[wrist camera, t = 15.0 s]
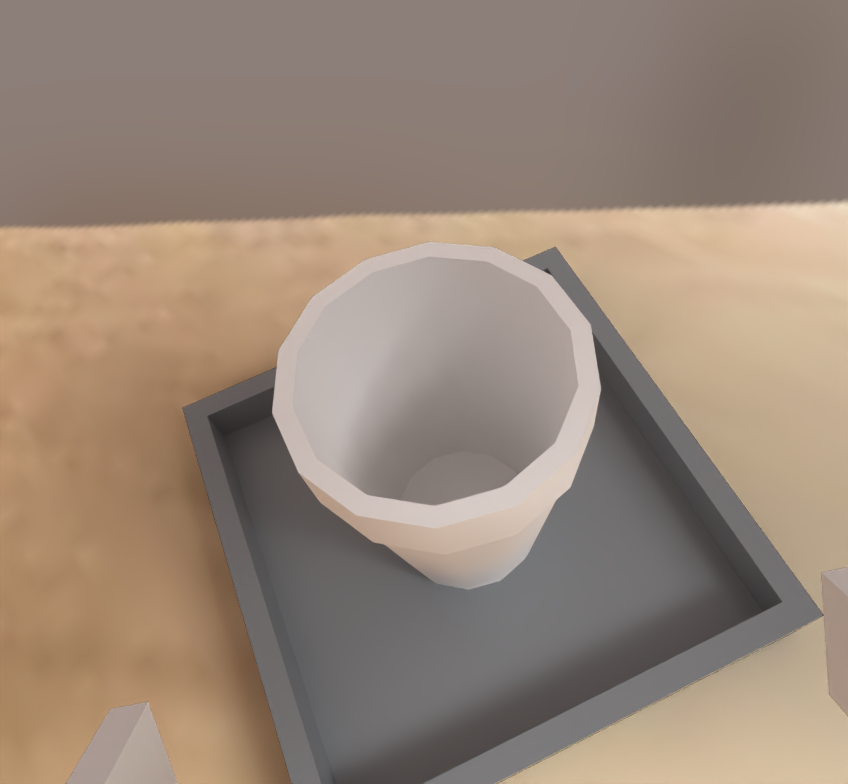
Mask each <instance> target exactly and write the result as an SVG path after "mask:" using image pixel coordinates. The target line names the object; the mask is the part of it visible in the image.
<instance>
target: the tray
mask: <svg viewBox="0 0 848 784" xmlns="http://www.w3.org/2000/svg"><path fill="white" fill-rule="evenodd" d="M523 261H524V262H526V263H528V264H530V265H532V266H534V267H536V268H538V269H540V270H542V271H544V272H546V273H548V274H550V275H552V276H553V278H554V279H555V280H556V281H557V283H558V284H559V285H560V286H561V288H562V289H563V290H564V291H565V293H566V294H567V295H568V297H569V298H570V299H571V300H572V302H573V303H574V304H575V305H576V307H577V308H578V309H579V310H580V312H581V313H582V314H583V315H584V317H585V318H586V319H587V320H588V322H589V323H590V324H591V329H592V335H593V341H594V348H595V354H596V360H597V366H598V372H599V379H600V385H601V391H600V397H599V402H598V407H597V412H596V418H595V423H594V427H593V430H592V433H591V435H590V438H589V440H588V443H587V446H586V448H585V451H584V453H583V456H582V459H581V461H580V464H579V467H578V469H577V472H576V474H575V477H574V480H573V482H572V485H571V487H570V488H569V489H568V490H567V491H566V492H565V493H564V494H563V495H561V496H560V497H559V498H558V499H557V500H556V501H555V503H554V505H553V507H552V509H551V511H550V513H549V515H548V517H547V519H546V520H545V522H544V524H543V526H542V528H541V530H540V532H539V534H538V536H537V538H536V540H535V542H534V543H533V545H532V547H531V549H530V551H529V553H528V555H527V556H526V558H525V559H524V560H523V561H522V562H521V563H520V564H519V565H518V566H517V567H515V568H514V569H513V570H512V571H511V572H510V573H509V574H508V575H506V576H505V577H504V578H503V579H502V580H501V581H498V582H494V583H491V584H487V585H483V586H480V587H476V588H473V589H469V590H468V589H463V588H457V587H452V586H446V585H441V584H436V583H435V582H433V581H432V580H430V579H429V578H428V577H426V576H425V575H424V574H422V573H421V572H420V571H418V570H417V569H415V568H414V567H413V566H411V565H410V564H409V563H407V562H406V561H405V560H404V559H402V558H401V557H400V556H398V555H397V554H396V553H395V552H393V551H392V550H391V549H389V548H388V547H387V546H386V545H384V544H379V543H374V542H372V541H371V540H369V539H368V538H367V537H365V536H364V535H363V534H361V533H360V532H359V531H357V530H356V529H355V528H353V527H352V526H351V525H349V524H348V523H347V522H345V521H344V520H343V519H341V518H340V517H339V516H337V515H336V514H335V513H333V512H332V511H331V510H329V509H328V508H327V507H325V506H324V505H323V504H321V503H320V502H319V500H318V499H317V497H316V496H315V495H314V493H313V492H312V491H311V489H310V488H309V486H308V485H307V484H306V482H305V481H304V480H303V478H302V477H301V475H300V474H299V473H298V471H297V468H296V466H295V464H294V462H293V459H292V457H291V455H290V452H289V450H288V448H287V446H286V443H285V441H284V439H283V437H282V434H281V432H280V430H279V428H278V425H277V423H276V421H275V419H274V416H273V414H272V408H273V398H274V388H275V379H276V369H277V367H276V368H273V369H271V370H269V371H266V372H264V373H262V374H259V375H257V376H255V377H253V378H250V379H248V380H246V381H243V382H241V383H239V384H236V385H234V386H232V387H229V388H227V389H225V390H222V391H220V392H218V393H215V394H213V395H211V396H209V397H206V398H204V399H202V400H199V401H197V402H195V403H192V404H190V405H188V406H185V407H183V412H184V415H185V419H186V422H187V426H188V429H189V432H190V436H191V439H192V443H193V446H194V450H195V453H196V457H197V460H198V463H199V467H200V470H201V474H202V477H203V481H204V484H205V487H206V491H207V494H208V498H209V501H210V505H211V508H212V512H213V515H214V518H215V522H216V525H217V529H218V532H219V536H220V539H221V543H222V546H223V549H224V553H225V556H226V560H227V563H228V567H229V570H230V573H231V577H232V580H233V584H234V587H235V591H236V594H237V598H238V601H239V604H240V608H241V611H242V615H243V618H244V622H245V625H246V628H247V632H248V635H249V639H250V642H251V646H252V649H253V653H254V656H255V659H256V663H257V666H258V670H259V673H260V677H261V680H262V684H263V687H264V690H265V694H266V697H267V701H268V704H269V708H270V711H271V714H272V718H273V721H274V725H275V728H276V732H277V735H278V739H279V742H280V745H281V749H282V752H283V756H284V759H285V763H286V766H287V769H288V773H289V776H290V780H291V783H292V784H498V783H500V782H502V781H504V780H505V779H507V778H509V777H511V776H513V775H515V774H517V773H519V772H521V771H523V770H525V769H527V768H529V767H531V766H533V765H535V764H537V763H539V762H541V761H543V760H545V759H547V758H549V757H551V756H552V755H554V754H556V753H558V752H560V751H562V750H564V749H566V748H568V747H570V746H572V745H574V744H576V743H578V742H580V741H582V740H584V739H586V738H588V737H590V736H592V735H594V734H596V733H597V732H599V731H601V730H603V729H605V728H607V727H609V726H611V725H613V724H615V723H617V722H619V721H621V720H623V719H625V718H627V717H629V716H631V715H633V714H635V713H637V712H639V711H641V710H643V709H644V708H646V707H648V706H650V705H652V704H654V703H656V702H658V701H660V700H662V699H664V698H666V697H668V696H670V695H672V694H674V693H676V692H678V691H680V690H682V689H684V688H686V687H688V686H689V685H691V684H693V683H695V682H697V681H699V680H701V679H703V678H705V677H707V676H709V675H711V674H713V673H715V672H717V671H719V670H721V669H723V668H725V667H727V666H729V665H731V664H733V663H735V662H736V661H738V660H740V659H742V658H744V657H746V656H748V655H750V654H752V653H754V652H756V651H758V650H760V649H762V648H764V647H766V646H768V645H770V644H772V643H774V642H776V641H778V640H780V639H781V638H783V637H785V636H787V635H789V634H791V633H793V632H795V631H797V630H799V629H801V628H802V627H804V626H806V625H808V624H809V623H811V622H813V621H815V620H816V619H818V618H820V617H822V616H824V615H823V614H822V612H821V611H820V609H819V608H818V607H817V605H816V604H815V603H814V601H813V600H812V598H811V597H810V596H809V594H808V593H807V592H806V590H805V589H804V587H803V586H802V585H801V583H800V582H799V581H798V579H797V578H796V576H795V575H794V574H793V572H792V571H791V570H790V568H789V567H788V565H787V564H786V563H785V561H784V560H783V559H782V557H781V556H780V554H779V553H778V552H777V550H776V549H775V548H774V546H773V545H772V543H771V542H770V541H769V539H768V538H767V537H766V535H765V534H764V532H763V531H762V530H761V528H760V527H759V526H758V524H757V523H756V521H755V520H754V519H753V517H752V516H751V515H750V513H749V512H748V510H747V509H746V508H745V506H744V505H743V504H742V502H741V501H740V499H739V498H738V497H737V495H736V494H735V493H734V491H733V490H732V488H731V487H730V486H729V484H728V483H727V482H726V480H725V479H724V477H723V476H722V475H721V473H720V472H719V471H718V469H717V468H716V466H715V465H714V464H713V462H712V461H711V460H710V458H709V457H708V455H707V454H706V453H705V451H704V450H703V449H702V447H701V446H700V445H699V443H698V442H697V440H696V439H695V438H694V436H693V435H692V434H691V432H690V431H689V429H688V428H687V427H686V425H685V424H684V423H683V421H682V420H681V418H680V417H679V416H678V414H677V413H676V412H675V410H674V409H673V407H672V406H671V405H670V403H669V402H668V401H667V399H666V398H665V396H664V395H663V394H662V392H661V391H660V390H659V388H658V387H657V385H656V384H655V383H654V381H653V380H652V379H651V377H650V376H649V374H648V373H647V372H646V370H645V369H644V368H643V366H642V365H641V363H640V362H639V361H638V359H637V358H636V357H635V355H634V354H633V352H632V351H631V350H630V348H629V347H628V346H627V344H626V343H625V341H624V340H623V339H622V337H621V336H620V335H619V333H618V332H617V330H616V329H615V328H614V326H613V325H612V324H611V322H610V321H609V319H608V318H607V317H606V315H605V314H604V313H603V311H602V310H601V308H600V307H599V306H598V304H597V303H596V302H595V300H594V299H593V297H592V296H591V295H590V293H589V292H588V291H587V289H586V288H585V286H584V285H583V284H582V282H581V281H580V280H579V278H578V277H577V275H576V274H575V273H574V271H573V270H572V269H571V267H570V266H569V264H568V263H567V262H566V260H565V259H564V258H563V256H562V255H561V253H560V252H559V251H558V249H557V248H556V247H553V248H551V249H549V250H547V251H544V252H542V253H540V254H537V255H535V256H533V257H530V258H528V259H526V260H523Z"/></svg>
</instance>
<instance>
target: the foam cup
mask: <svg viewBox="0 0 848 784" xmlns="http://www.w3.org/2000/svg"><path fill="white" fill-rule="evenodd" d="M600 391H601V385H600V379H599V372H598V366H597V360H596V354H595V348H594V341H593V335H592V329H591V324H590V323H589V322H588V320H587V319H586V318H585V317H584V315H583V314H582V313H581V312H580V310H579V309H578V308H577V307H576V305H575V304H574V303H573V302H572V300H571V299H570V298H569V297H568V295H567V294H566V293H565V291H564V290H563V289H562V288H561V286H560V285H559V284H558V283H557V281H556V280H555V279H554V278H553V276H552V275H550V274H548V273H546V272H544V271H542V270H540V269H538V268H536V267H534V266H532V265H530V264H528V263H526V262H524V261H522V260H519V259H517V258H515V257H513V256H511V255H509V254H507V253H505V252H503V251H501V250H499V249H497V248H495V247H488V246H475V245H462V244H449V243H437V242H426V243H423V244H419V245H415V246H412V247H408V248H405V249H401V250H397V251H394V252H390V253H386V254H383V255H379V256H375V257H372V258H368V259H365V260H363V261H362V262H361V263H359V264H358V265H356V266H355V267H354V268H352V269H351V270H349V271H348V272H347V273H345V274H344V275H342V276H341V277H340V278H338V279H337V280H335V281H334V282H333V283H331V284H330V285H328V286H327V287H326V288H324V289H323V290H321V291H320V292H318V293H317V294H316V295H314V296H313V297H312V298H311V300H310V301H309V303H308V304H307V306H306V307H305V309H304V311H303V312H302V314H301V315H300V317H299V319H298V320H297V322H296V323H295V325H294V327H293V328H292V330H291V331H290V333H289V335H288V336H287V338H286V339H285V341H284V342H283V344H282V346H281V347H280V349H279V350H278V359H277V369H276V379H275V388H274V398H273V408H272V414H273V416H274V419H275V421H276V423H277V425H278V428H279V430H280V432H281V434H282V437H283V439H284V441H285V443H286V446H287V448H288V450H289V452H290V455H291V457H292V459H293V462H294V464H295V466H296V468H297V471H298V473H299V474H300V475H301V477H302V478H303V480H304V481H305V482H306V484H307V485H308V486H309V488H310V489H311V491H312V492H313V493H314V495H315V496H316V497H317V499H318V500H319V502H320V503H321V504H323V505H324V506H325V507H327V508H328V509H329V510H331V511H332V512H333V513H335V514H336V515H337V516H339V517H340V518H341V519H343V520H344V521H345V522H347V523H348V524H349V525H351V526H352V527H353V528H355V529H356V530H357V531H359V532H360V533H361V534H363V535H364V536H365V537H367V538H368V539H369V540H371V541H372V542H374V543H379V544H384V545H386V546H387V547H388V548H389V549H391V550H392V551H393V552H395V553H396V554H397V555H398V556H400V557H401V558H402V559H404V560H405V561H406V562H407V563H409V564H410V565H411V566H413V567H414V568H415V569H417V570H418V571H420V572H421V573H422V574H424V575H425V576H426V577H428V578H429V579H430V580H432V581H433V582H435V583H436V584H441V585H446V586H452V587H457V588H463V589H468V590H469V589H473V588H476V587H480V586H483V585H487V584H491V583H494V582H498V581H501V580H502V579H503V578H504V577H505V576H506V575H508V574H509V573H510V572H511V571H512V570H513V569H514V568H515V567H517V566H518V565H519V564H520V563H521V562H522V561H523V560H524V559H525V558H526V556H527V555H528V553H529V551H530V549H531V547H532V545H533V543H534V542H535V540H536V538H537V536H538V534H539V532H540V530H541V528H542V526H543V524H544V522H545V520H546V519H547V517H548V515H549V513H550V511H551V509H552V507H553V505H554V503H555V501H556V500H557V499H558V498H559V497H560V496H561V495H563V494H564V493H565V492H566V491H567V490H568V489H569V488H570V487H571V485H572V482H573V480H574V477H575V474H576V472H577V469H578V467H579V464H580V461H581V459H582V456H583V453H584V451H585V448H586V446H587V443H588V440H589V438H590V435H591V433H592V430H593V427H594V423H595V418H596V412H597V407H598V402H599V397H600Z"/></svg>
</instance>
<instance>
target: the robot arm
mask: <svg viewBox="0 0 848 784" xmlns="http://www.w3.org/2000/svg"><path fill="white" fill-rule="evenodd" d="M821 580H822V596H823V611H824V626H825V641H826V657H827V672H828V687H829V695H830V696H831V697H832V699H833V700H834V701H835V702H836V703H837V704H838V706H839V707H840V708H841V709H842V710H843V711H844V713H845V714H846V715H847V716H848V567H846V568H841V569H835V570H830V571H825V572H821ZM66 784H178V782H177V780H176V777H175V774H174V771H173V769H172V766H171V763H170V760H169V758H168V755H167V752H166V749H165V747H164V744H163V741H162V739H161V736H160V733H159V730H158V728H157V725H156V722H155V719H154V717H153V714H152V711H151V708H150V706H149V703H148V702H144V703H139V704H134V705H129V706H124V707H118V708H113V709H110V710H109V712H108V714H107V715H106V717H105V719H104V720H103V722H102V724H101V725H100V727H99V729H98V730H97V732H96V734H95V735H94V737H93V739H92V741H91V742H90V744H89V746H88V747H87V749H86V751H85V752H84V754H83V756H82V757H81V759H80V761H79V762H78V764H77V766H76V767H75V769H74V771H73V772H72V774H71V776H70V778H69V779H68V781H67V783H66Z"/></svg>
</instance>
